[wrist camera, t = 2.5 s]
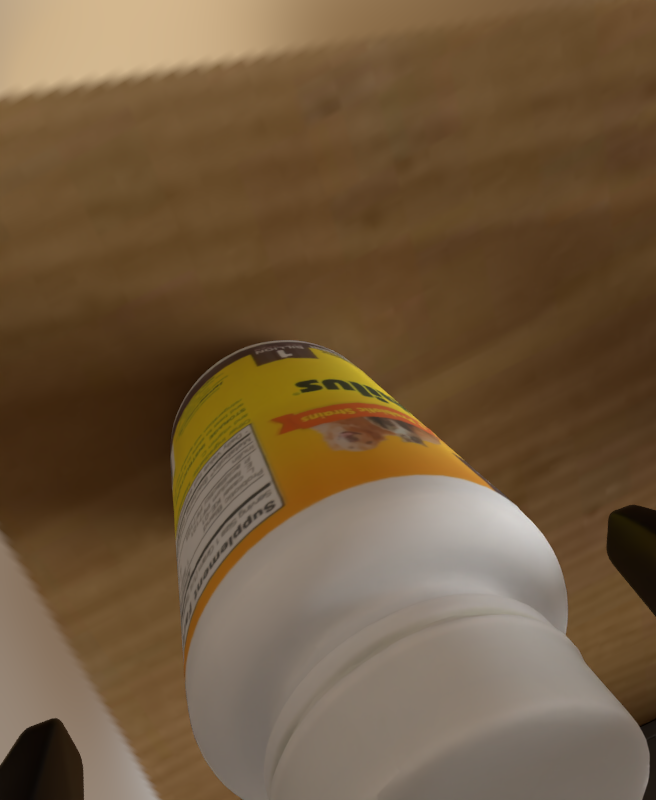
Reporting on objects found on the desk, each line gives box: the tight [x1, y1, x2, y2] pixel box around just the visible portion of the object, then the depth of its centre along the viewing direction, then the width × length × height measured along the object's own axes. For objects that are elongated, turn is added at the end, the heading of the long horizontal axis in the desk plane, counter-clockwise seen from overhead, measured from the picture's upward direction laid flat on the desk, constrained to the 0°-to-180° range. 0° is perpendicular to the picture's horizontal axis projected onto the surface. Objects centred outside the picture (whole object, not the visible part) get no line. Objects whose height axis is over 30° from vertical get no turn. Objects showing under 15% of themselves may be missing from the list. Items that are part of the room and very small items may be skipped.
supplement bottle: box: [170, 340, 650, 800], centre depth 10 cm, size 6×6×10 cm
